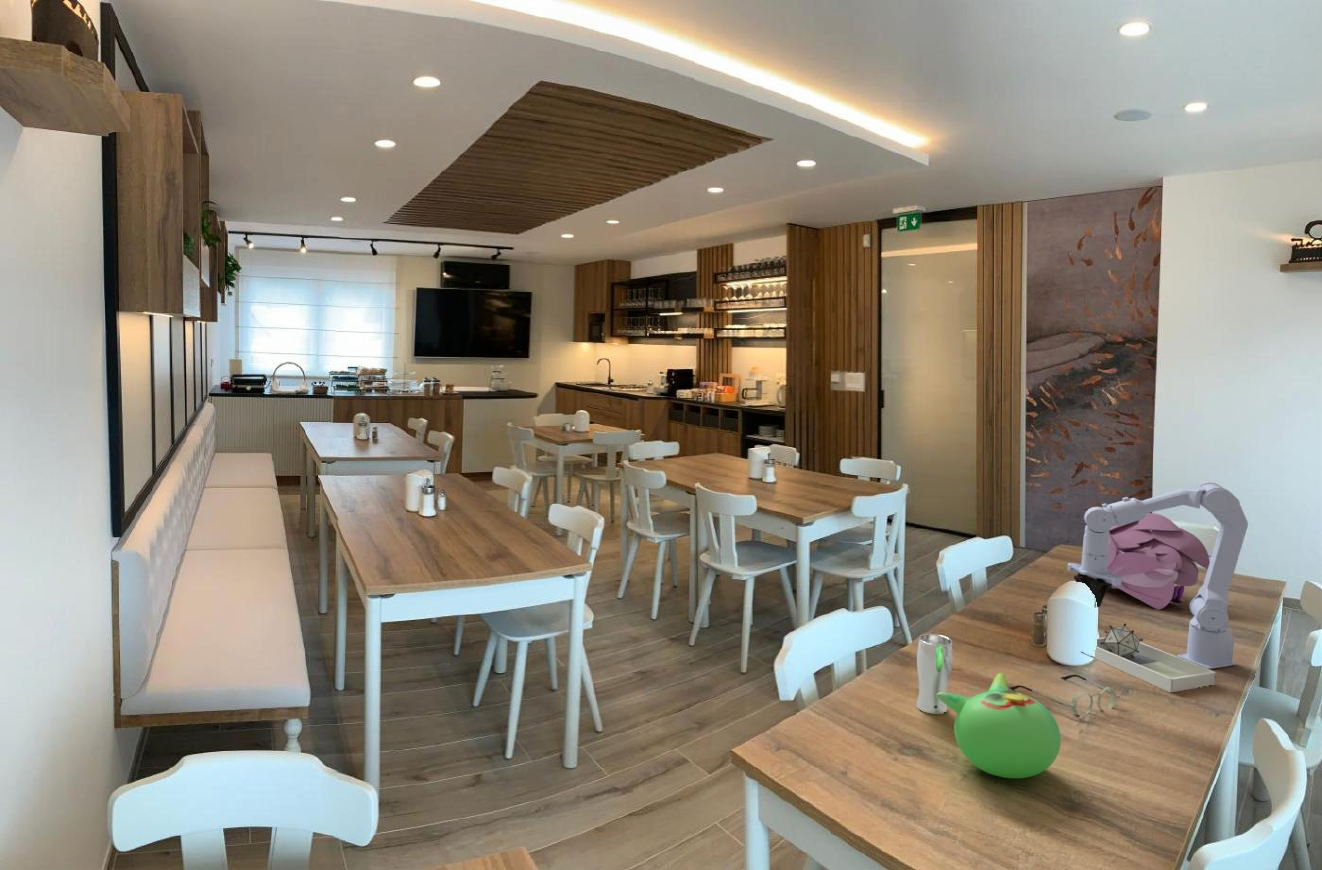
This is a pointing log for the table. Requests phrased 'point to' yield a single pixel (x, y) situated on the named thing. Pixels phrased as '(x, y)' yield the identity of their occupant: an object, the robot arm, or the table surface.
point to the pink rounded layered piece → (1155, 559)
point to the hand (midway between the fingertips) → (1091, 604)
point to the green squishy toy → (1004, 731)
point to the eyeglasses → (1079, 695)
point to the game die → (1121, 641)
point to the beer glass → (933, 671)
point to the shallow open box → (1158, 668)
